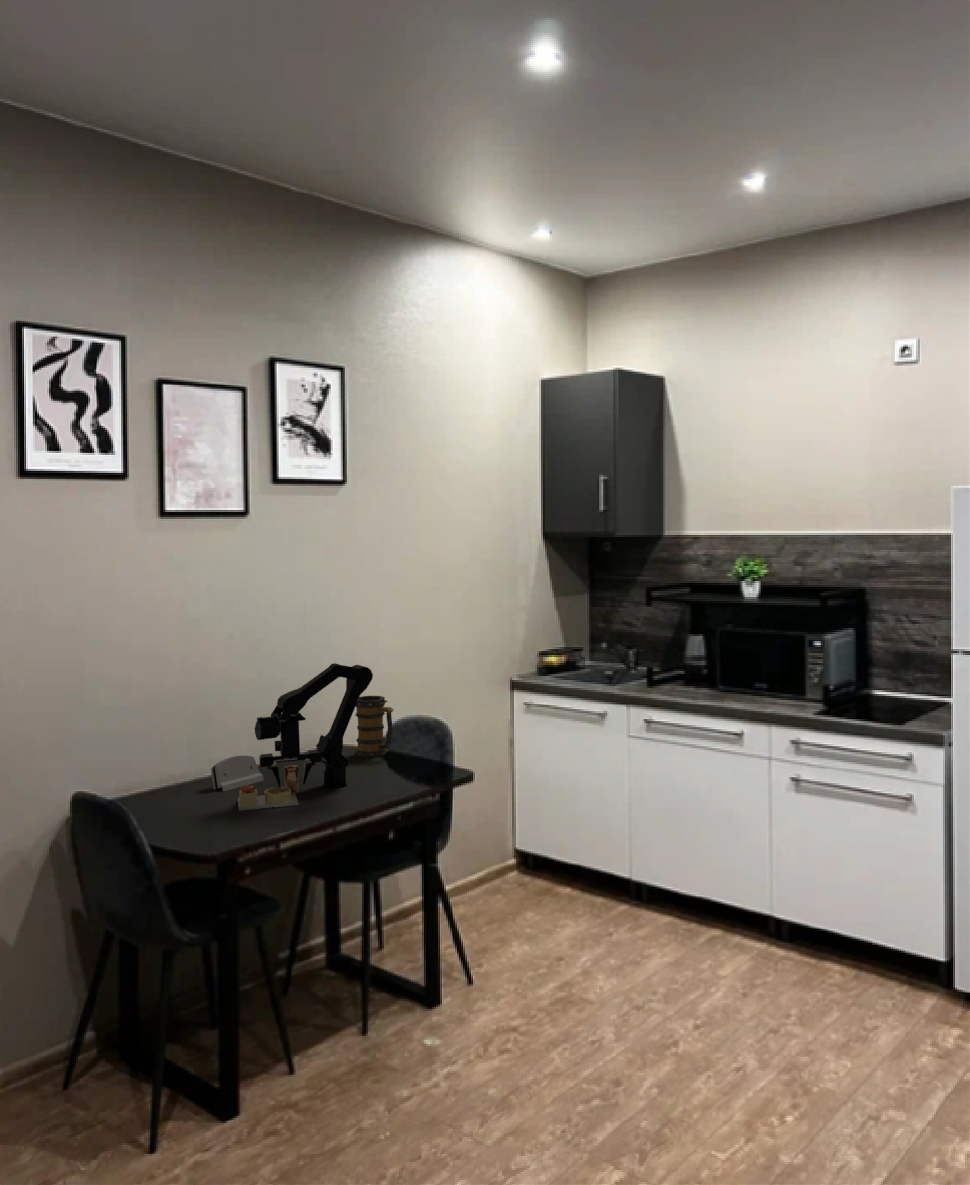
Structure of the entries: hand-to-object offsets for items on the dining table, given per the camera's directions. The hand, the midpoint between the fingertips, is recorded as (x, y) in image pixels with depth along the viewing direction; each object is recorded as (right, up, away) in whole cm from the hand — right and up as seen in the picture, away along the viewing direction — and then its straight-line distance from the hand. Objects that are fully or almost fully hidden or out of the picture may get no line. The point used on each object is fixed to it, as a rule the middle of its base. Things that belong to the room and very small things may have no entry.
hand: (291, 785), depth 319 cm
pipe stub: (0, -2, 0) cm, 2 cm away
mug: (+21, +2, +48) cm, 53 cm away
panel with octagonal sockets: (-5, -3, -12) cm, 13 cm away
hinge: (-20, -2, +11) cm, 23 cm away
